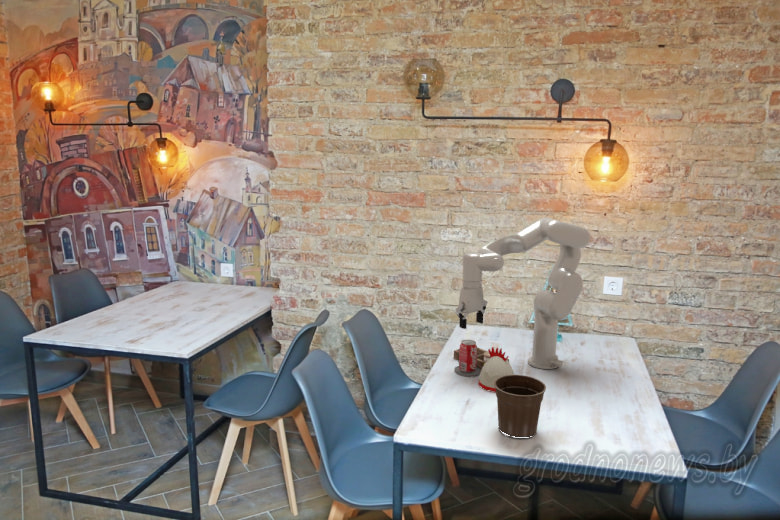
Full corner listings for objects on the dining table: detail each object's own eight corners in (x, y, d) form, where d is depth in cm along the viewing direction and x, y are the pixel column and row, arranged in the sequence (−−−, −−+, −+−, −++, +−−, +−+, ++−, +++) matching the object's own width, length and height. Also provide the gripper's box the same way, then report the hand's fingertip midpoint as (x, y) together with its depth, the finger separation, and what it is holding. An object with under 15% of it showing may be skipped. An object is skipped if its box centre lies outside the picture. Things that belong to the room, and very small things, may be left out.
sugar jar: (498, 366, 249) (499, 354, 248) (490, 370, 246) (490, 357, 245) (488, 363, 253) (489, 350, 252) (480, 366, 250) (480, 353, 249)
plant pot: (510, 447, 186) (513, 398, 182) (482, 424, 200) (484, 378, 197) (552, 437, 192) (556, 390, 189) (522, 415, 206) (525, 371, 203)
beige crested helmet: (488, 375, 241) (490, 339, 238) (520, 383, 233) (523, 346, 230) (472, 386, 230) (474, 349, 227) (505, 395, 222) (508, 357, 219)
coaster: (487, 372, 243) (487, 371, 243) (468, 378, 237) (468, 377, 236) (467, 364, 252) (467, 362, 252) (448, 370, 245) (448, 369, 245)
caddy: (508, 367, 249) (509, 359, 248) (490, 373, 242) (491, 365, 241) (471, 352, 264) (471, 345, 264) (453, 358, 258) (453, 350, 257)
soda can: (476, 367, 247) (478, 339, 244) (475, 374, 240) (477, 345, 237) (459, 366, 248) (460, 338, 245) (457, 372, 241) (459, 344, 239)
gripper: (479, 278, 245) (479, 318, 248) (449, 285, 234) (449, 327, 238) (494, 281, 239) (492, 323, 243) (463, 289, 228) (463, 332, 232)
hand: (471, 325), depth 240 cm, fingers open, 9 cm apart
